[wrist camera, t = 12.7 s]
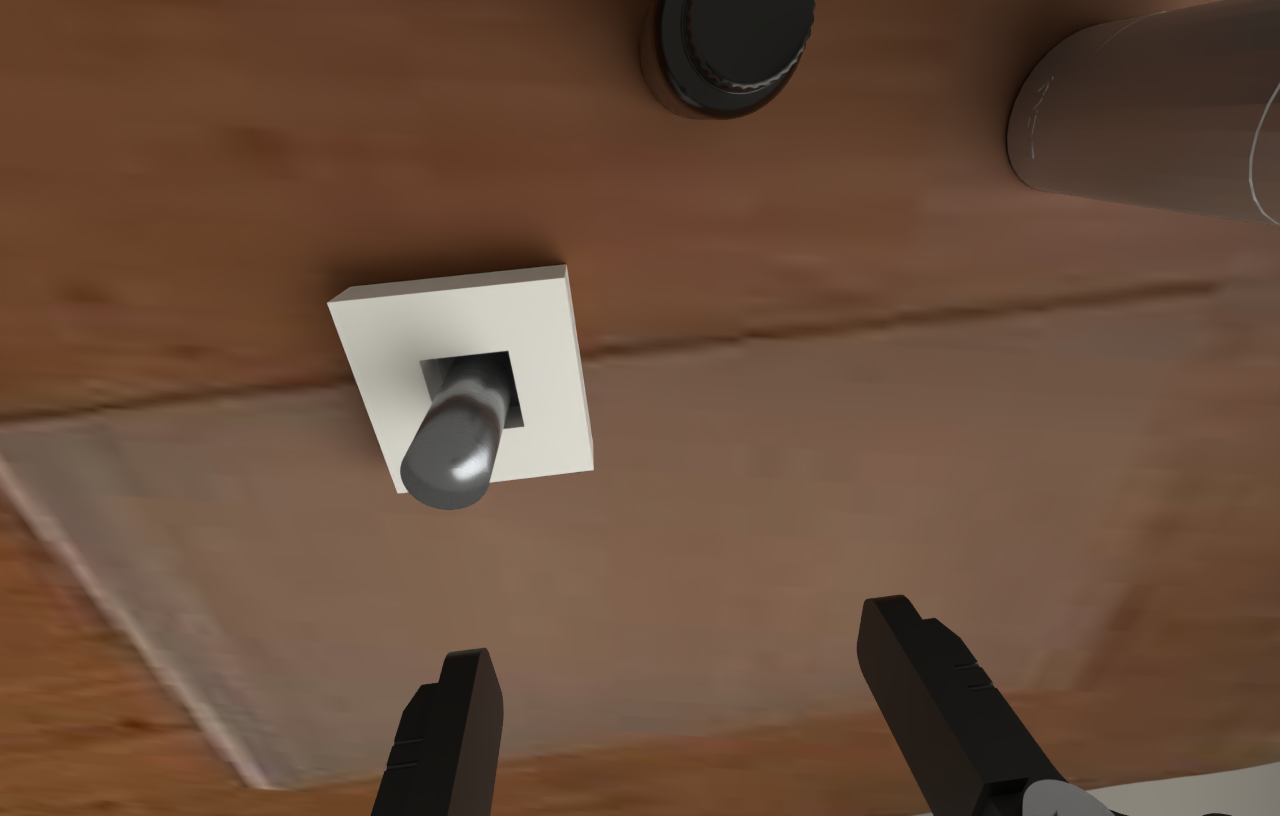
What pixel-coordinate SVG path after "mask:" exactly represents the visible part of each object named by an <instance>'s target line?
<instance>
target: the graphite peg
mask: <svg viewBox="0 0 1280 816" xmlns="http://www.w3.org/2000/svg"><path fill="white" fill-rule="evenodd" d="M514 385H515V379H514V375H513V370H512V366H511V361H510V359H509V358H508V357H507V356H506V355H505V354H504V353H503V352H501V351H500V352H491V353H482V354H473V355H464V356H457V357H456V358H455V360H454V362H453V364H452V366H451V368H450V369H449V371H448V373H447V375H446V377H445V379H444V381H443V383H442V385H441V387H440V389H439V391H438V393H437V395H436V396H435V398H434V400H433V402H432V404H431V406H430V408H429V410H428V412H427V414H426V416H425V418H424V420H423V421H422V423H421V425H420V427H419V429H418V431H417V433H416V435H415V437H414V439H413V441H412V443H411V445H410V447H409V448H408V450H407V452H406V454H405V456H404V458H403V460H402V463H401V467H400V476H401V480H402V482H403V485H404V486H405V488H406V490H407V491H408V492H409V493H410V494H411V495H412V496H413V497H414V498H416V499H417V500H418V501H420V502H422V503H423V504H426V505H428V506H431V507H434V508H438V509H445V510H454V509H461V508H465V507H468V506H470V505H472V504H474V503H476V502H477V501H479V500H480V499H481V498H482V497H483V495H484V494H485V493H486V491H487V489H488V486H489V482H490V478H491V474H492V471H493V467H494V463H495V459H496V455H497V451H498V447H499V443H500V439H501V436H502V432H503V428H504V424H505V420H506V416H507V412H508V408H509V404H510V400H511V397H512V393H513V389H514Z"/></svg>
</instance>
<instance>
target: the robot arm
mask: <svg viewBox="0 0 1280 816" xmlns="http://www.w3.org/2000/svg"><path fill="white" fill-rule="evenodd" d="M1007 145H1008V155H1009V158H1010V161H1011V164H1012V167H1013V169H1014V170H1015V172H1016V174H1017V175H1018V177H1019V178H1020V179H1021V180H1022V181H1023V182H1025V183H1026V184H1027V185H1028V186H1030V187H1032V188H1035V189H1037V190H1039V191H1045V192H1051V193H1058V194H1064V195H1071V196H1077V197H1084V198H1090V199H1095V200H1102V201H1109V202H1115V203H1122V204H1129V205H1136V206H1142V207H1149V208H1156V209H1163V210H1170V211H1176V212H1183V213H1190V214H1197V215H1203V216H1210V217H1217V218H1224V219H1231V220H1237V221H1244V222H1251V223H1258V224H1265V225H1271V226H1278V227H1280V0H1223V1H1218V2H1213V3H1207V4H1202V5H1197V6H1192V7H1187V8H1182V9H1176V10H1171V11H1166V12H1159V13H1154V14H1149V15H1144V16H1139V17H1133V18H1128V19H1123V20H1118V21H1113V22H1108V23H1103V24H1098V25H1095V26H1091V27H1088V28H1085V29H1082V30H1080V31H1078V32H1076V33H1075V34H1073V35H1071V36H1069V37H1067V38H1066V39H1064V40H1063V41H1062V42H1060V43H1059V44H1058V45H1057V46H1055V47H1054V48H1053V49H1052V50H1050V51H1049V52H1048V53H1047V54H1046V55H1045V57H1044V58H1043V59H1042V60H1041V61H1040V62H1039V63H1038V64H1037V65H1036V66H1035V68H1034V69H1033V71H1032V72H1031V74H1030V75H1029V77H1028V78H1027V80H1026V81H1025V83H1024V84H1023V86H1022V88H1021V90H1020V92H1019V94H1018V96H1017V98H1016V101H1015V103H1014V106H1013V109H1012V113H1011V116H1010V119H1009V126H1008V134H1007ZM857 656H858V661H859V665H860V668H861V671H862V673H863V676H864V678H865V680H866V682H867V684H868V686H869V688H870V690H871V692H872V694H873V696H874V698H875V700H876V702H877V704H878V706H879V708H880V710H881V712H882V714H883V716H884V718H885V720H886V722H887V724H888V726H889V728H890V730H891V732H892V734H893V736H894V738H895V740H896V742H897V744H898V746H899V748H900V750H901V752H902V754H903V756H904V758H905V759H906V761H907V763H908V765H909V767H910V769H911V771H912V773H913V775H914V777H915V779H916V781H917V783H918V785H919V787H920V789H921V791H922V793H923V795H924V797H925V799H926V801H927V803H928V805H929V807H930V809H931V811H932V813H933V815H934V816H1127V815H1123V814H1120V813H1117V812H1115V811H1112V810H1109V809H1108V808H1107V807H1106V806H1105V805H1104V804H1103V803H1101V802H1100V801H1099V800H1097V799H1096V798H1095V797H1094V796H1092V795H1090V794H1089V793H1087V792H1086V791H1084V790H1082V789H1080V788H1078V787H1076V786H1074V785H1072V784H1070V783H1068V782H1067V781H1066V780H1065V779H1064V777H1063V776H1062V775H1061V774H1060V773H1059V772H1058V771H1057V770H1056V768H1055V767H1054V766H1053V765H1052V763H1051V762H1050V760H1049V759H1048V758H1047V756H1046V755H1045V754H1044V752H1043V751H1042V749H1041V748H1040V747H1039V745H1038V744H1037V743H1036V741H1035V740H1034V738H1033V737H1032V736H1031V734H1030V733H1029V732H1028V730H1027V729H1026V727H1025V726H1024V725H1023V723H1022V722H1021V721H1020V719H1019V718H1018V716H1017V715H1016V714H1015V712H1014V711H1013V710H1012V708H1011V707H1010V705H1009V704H1008V703H1007V701H1006V700H1005V699H1004V697H1003V696H1002V694H1001V693H1000V692H999V690H998V689H997V688H994V686H993V682H992V681H991V679H990V678H989V677H988V675H987V674H986V673H985V671H984V670H983V668H982V667H979V665H978V662H977V660H976V659H975V657H974V656H973V655H972V653H971V652H970V651H969V649H968V648H967V646H966V645H965V644H964V642H963V641H962V640H961V638H960V637H959V636H957V635H956V634H955V633H954V632H952V631H951V630H950V629H948V628H947V627H946V626H945V625H943V624H942V623H941V622H940V621H938V620H937V619H936V618H931V619H924V620H922V618H921V617H920V615H919V614H918V612H917V611H916V609H915V608H914V606H913V605H912V603H911V602H910V601H909V600H908V599H907V597H905V596H904V595H893V596H886V597H878V598H870V599H866V600H865V602H864V605H863V611H862V617H861V623H860V629H859V635H858V641H857ZM502 726H503V697H502V692H501V689H500V686H499V683H498V679H497V676H496V673H495V670H494V667H493V664H492V661H491V658H490V655H489V652H488V650H487V649H486V648H479V649H471V650H464V651H456V652H450V653H448V654H447V656H446V658H445V660H444V663H443V667H442V671H441V675H440V678H439V682H438V683H432V684H425V685H421V686H420V688H419V689H418V691H417V692H416V694H415V695H414V697H413V698H412V699H411V701H410V702H409V704H408V705H407V707H406V708H405V710H404V711H403V714H402V717H401V720H400V723H399V727H398V730H397V733H396V736H395V739H394V746H392V749H391V752H390V755H389V759H388V762H387V770H386V771H384V775H383V778H382V781H381V784H380V787H379V791H378V794H377V797H376V800H375V803H374V807H373V810H372V813H371V816H490V812H491V805H492V798H493V791H494V784H495V776H496V769H497V762H498V755H499V748H500V741H501V734H502ZM1203 816H1231V815H1226V814H1219V813H1218V814H1217V813H1211V814H1206V815H1203Z"/></svg>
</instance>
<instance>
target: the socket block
mask: <svg viewBox="0 0 1280 816" xmlns="http://www.w3.org/2000/svg"><path fill="white" fill-rule="evenodd" d="M327 304H328V307H329V310H330V312H331V315H332V318H333V320H334V323H335V326H336V328H337V331H338V334H339V337H340V339H341V342H342V345H343V347H344V350H345V353H346V355H347V358H348V361H349V363H350V366H351V369H352V372H353V374H354V377H355V380H356V382H357V385H358V388H359V390H360V393H361V396H362V398H363V401H364V404H365V406H366V409H367V412H368V415H369V417H370V420H371V423H372V425H373V428H374V431H375V433H376V436H377V439H378V441H379V444H380V447H381V450H382V452H383V455H384V458H385V460H386V463H387V466H388V468H389V471H390V474H391V476H392V479H393V482H394V485H395V487H396V490H397V493H406V492H408V491H407V490H406V488H405V486H404V485H403V482H402V480H401V476H400V467H401V463H402V460H403V458H404V456H405V454H406V452H407V450H408V448H409V447H410V445H411V443H412V441H413V439H414V437H415V435H416V433H417V431H418V429H419V427H420V425H421V423H422V421H423V420H424V418H425V416H426V414H427V412H428V410H429V408H430V406H431V404H432V402H433V400H434V398H435V396H436V395H437V393H438V391H439V389H440V387H441V385H442V383H443V381H444V379H445V377H446V375H447V373H448V371H449V369H450V368H451V366H452V364H453V362H454V360H455V358H456V357H457V356H464V355H473V354H482V353H491V352H500V351H501V352H503V353H504V354H505V355H506V356H507V357H508V358H509V359H510V361H511V366H512V370H513V375H514V379H515V385H514V389H513V393H512V397H511V400H510V404H509V408H508V412H507V416H506V420H505V424H504V428H503V432H502V436H501V439H500V443H499V447H498V451H497V455H496V459H495V463H494V467H493V471H492V474H491V478H490V482H497V481H506V480H514V479H523V478H531V477H539V476H548V475H556V474H564V473H573V472H581V471H589V470H594V465H593V441H592V434H591V427H590V420H589V414H588V407H587V400H586V393H585V386H584V379H583V373H582V366H581V359H580V352H579V345H578V339H577V332H576V325H575V318H574V311H573V305H572V298H571V291H570V284H569V277H568V271H567V264H564V265H554V266H545V267H535V268H526V269H516V270H507V271H497V272H487V273H478V274H468V275H459V276H449V277H439V278H430V279H420V280H411V281H401V282H391V283H382V284H372V285H363V286H353V287H349V288H348V289H346V290H345V291H343V292H342V293H340V294H339V295H337V296H336V297H335V298H333V299H332V300H330V301H329V302H327Z"/></svg>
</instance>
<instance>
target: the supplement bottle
mask: <svg viewBox="0 0 1280 816" xmlns="http://www.w3.org/2000/svg"><path fill="white" fill-rule="evenodd" d="M814 9H815V1H814V0H653V1H652V3H651V5H650V7H649V9H648V12H647V14H646V17H645V20H644V23H643V26H642V30H641V36H640V45H639V53H640V62H641V68H642V72H643V75H644V78H645V81H646V83H647V85H648V87H649V89H650V91H651V92H652V94H653V95H654V97H655V98H656V99H657V100H658V102H660V103H661V104H662V105H663V106H664V107H665V108H666V109H668V110H669V111H671V112H672V113H674V114H676V115H679V116H681V117H685V118H689V119H700V120H727V119H735V118H739V117H743V116H746V115H749V114H751V113H753V112H755V111H757V110H759V109H761V108H762V107H764V106H765V105H767V104H768V103H769V102H770V101H772V100H773V99H774V98H775V97H776V96H777V95H778V94H779V93H780V92H781V91H782V89H783V88H784V87H785V86H786V84H787V83H788V81H789V80H790V78H791V77H792V75H793V73H794V71H795V70H796V68H797V65H798V63H799V61H800V58H801V56H802V53H803V50H804V49H805V45H806V41H807V39H808V38H809V37H810V34H811V26H812V24H813V22H814V15H813V11H814Z"/></svg>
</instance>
